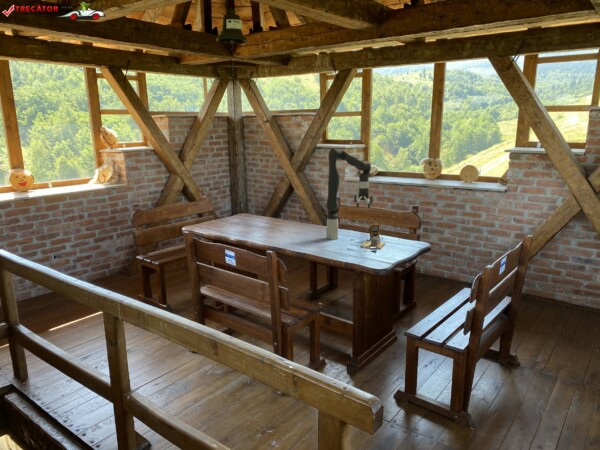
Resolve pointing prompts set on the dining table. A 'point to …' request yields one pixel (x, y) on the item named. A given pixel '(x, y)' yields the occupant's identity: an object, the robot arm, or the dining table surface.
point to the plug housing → (375, 241)
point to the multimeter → (374, 229)
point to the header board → (368, 244)
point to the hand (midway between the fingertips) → (363, 207)
